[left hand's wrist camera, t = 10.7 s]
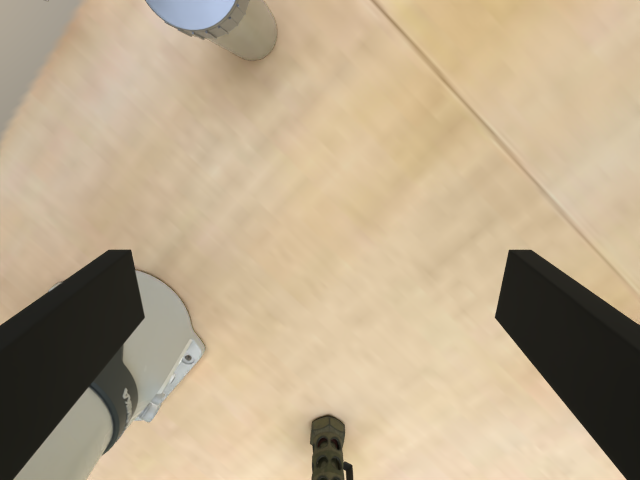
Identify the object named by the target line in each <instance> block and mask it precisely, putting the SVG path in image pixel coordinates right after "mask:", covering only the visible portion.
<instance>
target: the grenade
mask: <svg viewBox="0 0 640 480" xmlns="http://www.w3.org/2000/svg"><path fill="white" fill-rule="evenodd" d="M344 437H345V425H344V424H343V423H342V422H341V421H339V420H337V419H336V418H333V417H330V416H328V417H322V418H319V419H317V420H315V421H313V422H312V428H311V438H310V444H311V445H312V446H313V456H312V471H313V474H312V480H344V472H343V469H344V470H346V480H353V468H352V465H351V464H349V463H347V462H344V463H343V452H342V447H343V443H344Z"/></svg>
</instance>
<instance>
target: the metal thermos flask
mask: <svg viewBox="0 0 640 480" xmlns="http://www.w3.org/2000/svg"><path fill="white" fill-rule="evenodd" d="M238 25H239V26H238V27H237V26H236V27H235V28H234V29H233V30H231V31H230V32H228V33H229V34H228V35H227V34H225V35H223V36H220V37H217V39H214V38H205V39H207V40H209V41H211V42H213V43H215V44H216V45H218V46H220V47H222V48H224V49H226V50H228V51H229V52H231V53H233V54H235V55H237V56H239V57H240V58H243V59H245V60H250V61H254V60H259V59H262V58H264V57H265V56H267V55H268V54H269V53H270V52H271V50H272V49H273V47H274V45H275V43H276V39H277V25H276V22H275V19H274V17H273V15H272V13H271V11H270V10H269V8H268V6H267V4H266V3H265V1H264V0H250V1H249V4H248V7H247V10H246V15H244V16H243V18H242V20H241V21H240V22H239V24H238Z"/></svg>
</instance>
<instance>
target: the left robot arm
mask: <svg viewBox="0 0 640 480" xmlns="http://www.w3.org/2000/svg"><path fill="white" fill-rule="evenodd" d="M144 318H145V315H144V310H143V305H142V301H141V296H140V291H139V286H138V281H137V277H136V272H135V267H134V262H133V257H132V252H131V250H108V251H106V252H105V253H104V254H102V255H101V256H99V257H98V258H96V259H95V260H94V261H92V262H91V263H89V264H88V265H86V266H85V267H84V268H82V269H81V270H79V271H78V272H76V273H75V274H74V275H72V276H71V277H69V278H68V279H66V280H65V281H63V282H62V283H61V284H59V285H58V286H56V287H55V288H53V289H52V290H51V291H49V292H48V293H46V294H45V295H43V296H42V297H41V298H39V299H38V300H36V301H35V302H33V303H32V304H31V305H29V306H28V307H26V308H25V309H23V310H22V311H20V312H19V313H18V314H16V315H15V316H13V317H12V318H10V319H9V320H8V321H6V322H5V323H3V324H2V325H0V480H13V479H14V478H15V477H16V476H17V474H18V473H19V472H20V471H21V470H22V468H23V467H24V466H25V465H26V463H27V462H28V461H29V460H30V458H31V457H32V456H33V455H34V454H35V452H36V451H37V450H38V449H39V447H40V446H41V445H42V444H43V442H44V441H45V440H46V439H47V438H48V436H49V435H50V434H51V433H52V431H53V430H54V429H55V428H56V427H57V425H58V424H59V423H60V422H61V420H62V419H63V418H64V417H65V415H66V414H67V413H68V412H69V411H70V409H71V408H72V407H73V406H74V404H75V403H76V402H77V401H78V399H79V398H80V397H81V396H82V395H83V393H84V392H85V391H86V390H87V388H88V387H89V386H90V385H91V383H92V382H93V381H94V380H95V379H96V377H97V376H98V375H99V374H100V372H101V371H102V370H103V369H104V367H105V366H106V365H107V364H108V363H109V361H110V360H111V359H112V358H113V356H114V355H115V354H116V353H117V352H118V350H119V349H120V348H121V347H122V345H123V344H124V343H125V342H126V340H127V339H128V338H129V337H130V336H131V334H132V333H133V332H134V331H135V329H136V328H137V327H138V326H139V324H140V323H141V322H142V321H143V320H144ZM495 318H496V320H497V321H498V322H499V323H500V324H501V326H502V327H503V328H504V329H505V331H506V332H507V333H508V334H509V336H510V337H511V338H512V339H513V340H514V342H515V343H516V344H517V345H518V347H519V348H520V349H521V350H522V352H523V353H524V354H525V355H526V356H527V358H528V359H529V360H530V361H531V363H532V364H533V365H534V366H535V367H536V369H537V370H538V371H539V372H540V374H541V375H542V376H543V377H544V379H545V380H546V381H547V382H548V383H549V385H550V386H551V387H552V388H553V390H554V391H555V392H556V393H557V395H558V396H559V397H560V398H561V399H562V401H563V402H564V403H565V404H566V406H567V407H568V408H569V409H570V411H571V412H572V413H573V414H574V415H575V417H576V418H577V419H578V420H579V422H580V423H581V424H582V425H583V427H584V428H585V429H586V430H587V431H588V433H589V434H590V435H591V436H592V438H593V439H594V440H595V441H596V442H597V444H598V445H599V446H600V447H601V449H602V450H603V451H604V452H605V454H606V455H607V456H608V457H609V458H610V460H611V461H612V462H613V463H614V465H615V466H616V467H617V468H618V470H619V471H620V472H621V473H622V474H623V476H624V477H625V478H626V479H627V480H640V325H639V324H637V323H635V322H634V321H632V320H631V319H630V318H628V317H627V316H625V315H624V314H622V313H621V312H620V311H618V310H617V309H615V308H614V307H612V306H611V305H609V304H608V303H607V302H605V301H604V300H602V299H601V298H599V297H598V296H597V295H595V294H594V293H592V292H591V291H589V290H588V289H587V288H585V287H584V286H582V285H581V284H579V283H578V282H577V281H575V280H574V279H572V278H571V277H569V276H568V275H566V274H565V273H564V272H562V271H561V270H559V269H558V268H556V267H555V266H554V265H552V264H551V263H549V262H548V261H546V260H545V259H544V258H542V257H541V256H539V255H538V254H536V253H535V252H534V251H532V250H509V252H508V257H507V262H506V267H505V272H504V277H503V281H502V286H501V291H500V296H499V301H498V305H497V310H496V315H495Z"/></svg>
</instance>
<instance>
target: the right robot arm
mask: <svg viewBox="0 0 640 480" xmlns="http://www.w3.org/2000/svg"><path fill="white" fill-rule="evenodd" d="M45 1H49V0H45ZM135 272H136V277H137V281H138V286H139V291H140V296H141V301H142V305H143V310H144V315H145V318H144V320H143V321H142V322H141V323H140V324H139V326H138V327H137V328H136V329H135V331H134V332H133V333H132V334H131V336H130V337H129V338H128V339H127V340H126V342H125V343H124V344H123V345H122V347H121V348H120V349H119V350H118V352H117V353H116V354H115V355H114V356H113V358H112V359H111V360H110V361H109V363H108V364H107V365H106V366H105V367H104V369H103V370H102V371H101V372H100V374H99V375H98V376H97V377H96V379H95V380H94V381H93V382H92V383H91V385H90V386H89V387H88V388H87V390H86V391H85V392H84V393H83V395H82V396H81V397H80V398H79V399H78V401H77V402H76V403H75V404H74V406H73V407H72V408H71V409H70V411H69V412H68V413H67V414H66V415H65V417H64V418H63V419H62V420H61V422H60V423H59V424H58V425H57V427H56V428H55V429H54V430H53V431H52V433H51V434H50V435H49V436H48V438H47V439H46V440H45V441H44V442H43V444H42V445H41V446H40V447H39V449H38V450H37V451H36V452H35V454H34V455H33V456H32V457H31V458H30V460H29V461H28V462H27V463H26V465H25V466H24V467H23V468H22V470H21V471H20V472H19V473H18V474H17V476H16V477H15V478H14V479H13V480H87V478H88V477H89V475H90V473H91V472H92V470H93V469H94V467H95V465H96V464H97V462H98V460H99V459H100V457H101V456H102V455H103V454H105V453H106V452H107V451H109V449H110V448H111V447H112V446H113V445H114V444H115V442H117V440H118V439H119V438H120V437H121V435H122V434H123V432H124V431H125V430H126V429H127V428H128V426H129V425H130V424H131V423H132V422H133V421H139V420H144V421H146V422H151V421H152V419H153V418H154V416H155V415H156V413H157V412H158V410H159V408H160V406H161V403H162V402H163V401H164V400H165V398H166V397H167V396H168V395H169V394H170V393H171V391H172V390H173V389H174V388H175V387H176V386H177V385H178V383H179V382H180V381H181V380H182V379H183V378H184V377H185V375H186V374H187V373H188V372H189V371H190V370H191V368H192V367H193V366H194V365H195V364H196V363H197V362H198V360H199V359H200V358H201V357H202V355H203V354H204V352H205V346H204V344H203V342H202V341H201V339H200V338H199V337H198V336H197V334H196V333H195V332H194V330H193V328H192V325H191V321H190V317H189V314H188V312H187V309H186V307H185V305H184V304H183V302H182V301H181V299H180V298H179V297H178V295H177V294H176V293H175V292H174V291H173V290H172V289H171V288H170V287H168V286H167V285H166V284H165V283H163V282H162V281H160V280H159V279H157V278H155V277H153V276H151V275H149V274H146V273H144V272H141V271H137V270H135ZM61 283H62V282H59V283H57V284H55V285H54V286H53V287H52V288H50V289H49V291H51V290H52V289H53V288H55V287H56V286H58V285H59V284H61ZM49 291H48V292H49ZM188 355H190V356H191V357H189V356H188Z"/></svg>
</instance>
